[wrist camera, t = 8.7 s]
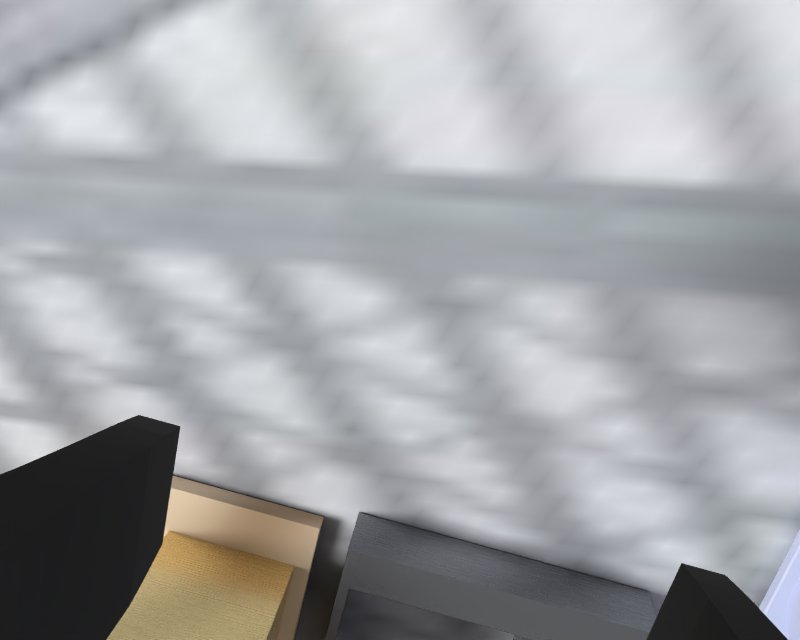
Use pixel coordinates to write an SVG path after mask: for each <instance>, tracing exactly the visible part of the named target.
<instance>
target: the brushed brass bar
mask: <svg viewBox="0 0 800 640" xmlns="http://www.w3.org/2000/svg"><path fill="white" fill-rule="evenodd" d="M293 570H294V565H291V564H287V563H284V562H280V561H277V560H273V559H269V558H266V557H262V556H259V555H255V554H251V553H248V552H244V551H241V550H237V549H233V548H230V547H226V546H223V545H219V544H216V543H212V542H208V541H205V540H201V539H198V538H194V537H190V536H187V535H183V534H180V533H176V532H172V531H168V532H167V534H166V535H165V537H164V538H163V544H162V546H161V548H160V550H159V552H158V554H157V555H156V557H155V559H154V561H153V563H152V565H151V567H150V569H149V571H148V573H147V575H146V577H145V579H144V580H143V582H142V584H141V586H140V588H139V590H138V591H137V593H136V595H135V597H134V599H133V601H132V602H131V604H130V606H129V607H128V609H127V610H126V612H125V613H124V615H123V616H122V618H121V619H120V621H119V622H118V624H117V625H116V626H115V628H114V629H113V631H112V632H111V634H110V635H109V636H108V638H107V639H106V640H277V638H278V634H279V630H280V625H281V621H282V617H283V612H284V608H285V604H286V600H287V595H288V591H289V587H290V582H291V578H292V574H293Z"/></svg>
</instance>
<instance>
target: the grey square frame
mask: <svg viewBox="0 0 800 640" xmlns="http://www.w3.org/2000/svg"><path fill="white" fill-rule="evenodd" d="M349 589H353V590H356V591H360V592H364V593H367V594H371V595H374V596H378V597H382V598H385V599H389V600H393V601H396V602H400V603H403V604H407V605H411V606H414V607H418V608H421V609H425V610H429V611H432V612H436V613H439V614H443V615H447V616H450V617H454V618H457V619H461V620H465V621H468V622H472V623H476V624H479V625H483V626H486V627H490V628H494V629H497V630H501V631H504V632H508V633H512V634H515V636H514V638H513V640H646V639H647V637H648V635H649V633H650V631H651V628H652V626H653V624H654V622H655V620H656V618H657V617H656V614H655V610H654V607H653V603H652V600H651V596H650V593H649V592H648V591H644V590H640V589H637V588H633V587H629V586H626V585H622V584H618V583H615V582H611V581H607V580H604V579H600V578H596V577H593V576H589V575H586V574H582V573H578V572H575V571H571V570H567V569H564V568H560V567H556V566H553V565H549V564H545V563H542V562H538V561H535V560H531V559H527V558H524V557H520V556H516V555H513V554H509V553H505V552H502V551H498V550H494V549H491V548H487V547H483V546H480V545H476V544H473V543H469V542H465V541H462V540H458V539H454V538H451V537H447V536H443V535H440V534H436V533H432V532H429V531H425V530H422V529H418V528H414V527H411V526H407V525H403V524H400V523H396V522H392V521H389V520H385V519H381V518H378V517H374V516H370V515H367V514H363V513H360V512H359V514H358V518H357V521H356V525H355V528H354V532H353V535H352V539H351V542H350V546H349V549H348V553H347V557H346V561H345V565H344V568H343V572H342V576H341V580H340V584H339V587H338V591H337V595H336V599H335V603H334V607H333V610H332V614H331V618H330V622H329V626H328V630H327V633H326V637H325V640H335V639H336V636H337V632H338V628H339V624H340V621H341V617H342V613H343V609H344V606H345V602H346V598H347V594H348V591H349Z"/></svg>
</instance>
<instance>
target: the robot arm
mask: <svg viewBox="0 0 800 640" xmlns="http://www.w3.org/2000/svg"><path fill="white" fill-rule="evenodd" d="M179 431H180V426H177V425H173V424H170V423H166V422H162V421H159V420H155V419H151V418H148V417H144V416H140V415H138V416H135V417H133V418H130V419H127V420H125V421H123V422H120V423H118V424H116V425H113V426H111V427H109V428H107V429H104V430H102V431H100V432H98V433H95V434H93V435H91V436H89V437H87V438H84V439H82V440H80V441H78V442H75V443H73V444H71V445H69V446H67V447H64V448H62V449H60V450H57V451H55V452H53V453H50V454H48V455H46V456H43V457H41V458H39V459H37V460H34V461H32V462H30V463H27V464H25V465H23V466H20V467H18V468H16V469H13V470H11V471H8V472H6V473H3V474H0V640H106V639H107V638H108V636H109V635H110V634H111V632H112V631H113V629H114V628H115V626H116V625H117V624H118V622H119V621H120V619H121V618H122V616H123V615H124V613H125V612H126V610H127V609H128V607H129V606H130V604H131V602H132V601H133V599H134V597H135V595H136V593H137V591H138V590H139V588H140V586H141V584H142V582H143V580H144V579H145V577H146V575H147V573H148V571H149V569H150V567H151V565H152V563H153V561H154V559H155V557H156V555H157V554H158V552H159V550H160V548H161V546H162V544H163V537H164V531H165V524H166V518H167V511H168V504H169V498H170V491H171V484H172V478H173V471H174V464H175V458H176V451H177V444H178V438H179ZM646 640H800V530H799V532H798V534H797V536H796V538H795V540H794V542H793V544H792V545H791V547H790V549H789V551H788V553H787V555H786V557H785V559H784V561H783V563H782V565H781V567H780V568H779V570H778V572H777V574H776V576H775V578H774V580H773V582H772V584H771V586H770V588H769V590H768V591H767V593H766V595H765V597H764V599H763V601H762V603H761V605H760V607H759V608H758V607H757V606H756V605H755V604H754V603H753V602H752V601H751V600H750V599H749V598H748V597H747V596H746V595H745V594H744V593H743V592H742V591H741V590H740V589H739V588H738V587H737V586H736V585H735V584H734V583H733V582H732V581H731V580H730V579H729V578H728V577H727V576H725V575H723V574H719V573H715V572H712V571H708V570H704V569H701V568H697V567H693V566H690V565H686V564H682V563H681V566H680V568H679V570H678V572H677V574H676V576H675V579H674V581H673V583H672V585H671V587H670V589H669V592H668V594H667V596H666V598H665V600H664V602H663V605H662V607H661V609H660V611H659V613H658V615H657V618H656V620H655V622H654V624H653V626H652V628H651V631H650V633H649V635H648V637H647V639H646Z"/></svg>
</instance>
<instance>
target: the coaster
mask: <svg viewBox="0 0 800 640" xmlns="http://www.w3.org/2000/svg"><path fill="white" fill-rule="evenodd" d="M323 519H324V517H322V516H318V515H315V514H311V513H307V512H304V511H300V510H296V509H293V508H289V507H286V506H282V505H278V504H275V503H271V502H267V501H264V500H260V499H256V498H253V497H249V496H246V495H242V494H238V493H235V492H231V491H227V490H224V489H220V488H216V487H213V486H209V485H205V484H202V483H198V482H195V481H191V480H187V479H184V478H180V477H176V476H173V478H172V484H171V491H170V498H169V504H168V511H167V518H166V524H165V531H164V537H165V535H166V534H167V532H168V531H172V532H176V533H180V534H183V535H187V536H190V537H194V538H198V539H201V540H205V541H208V542H212V543H216V544H219V545H223V546H226V547H230V548H233V549H237V550H241V551H244V552H248V553H251V554H255V555H259V556H262V557H266V558H269V559H273V560H277V561H280V562H284V563H287V564H291V565H294V570H293V574H292V578H291V582H290V587H289V591H288V595H287V600H286V604H285V608H284V612H283V617H282V621H281V625H280V630H279V634H278V638H277V640H294V639H295V635H296V631H297V626H298V622H299V618H300V614H301V610H302V606H303V602H304V598H305V593H306V589H307V585H308V581H309V577H310V573H311V569H312V564H313V560H314V556H315V552H316V548H317V544H318V540H319V536H320V531H321V527H322V523H323ZM164 537H163V538H164Z"/></svg>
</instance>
